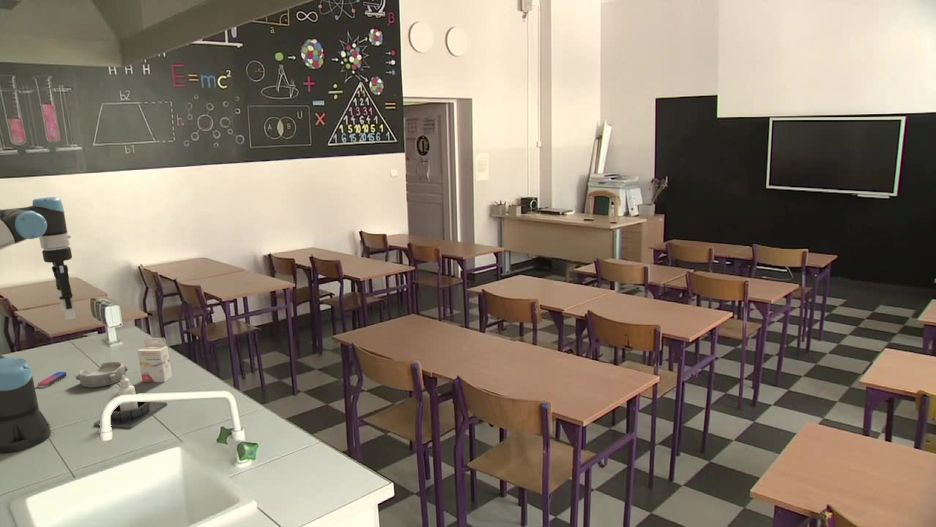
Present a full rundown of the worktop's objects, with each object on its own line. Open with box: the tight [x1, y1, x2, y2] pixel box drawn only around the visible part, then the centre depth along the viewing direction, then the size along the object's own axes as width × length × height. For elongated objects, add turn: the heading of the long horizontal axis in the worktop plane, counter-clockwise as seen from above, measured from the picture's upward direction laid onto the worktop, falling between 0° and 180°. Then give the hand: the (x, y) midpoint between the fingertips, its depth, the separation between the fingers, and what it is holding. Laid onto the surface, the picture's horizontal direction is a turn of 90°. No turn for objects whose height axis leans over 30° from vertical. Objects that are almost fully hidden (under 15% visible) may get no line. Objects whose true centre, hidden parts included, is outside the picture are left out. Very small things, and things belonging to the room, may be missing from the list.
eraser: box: [37, 371, 67, 389], centre depth 232 cm, size 11×4×2 cm, turn 173°
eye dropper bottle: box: [117, 375, 138, 412], centre depth 200 cm, size 4×6×12 cm
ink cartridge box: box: [137, 337, 173, 383], centre depth 228 cm, size 9×5×15 cm, turn 84°
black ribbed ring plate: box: [93, 401, 168, 429], centre depth 201 cm, size 16×13×3 cm
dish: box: [74, 361, 129, 388], centre depth 230 cm, size 14×14×5 cm
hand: (68, 314), depth 206 cm, fingers open, 13 cm apart
